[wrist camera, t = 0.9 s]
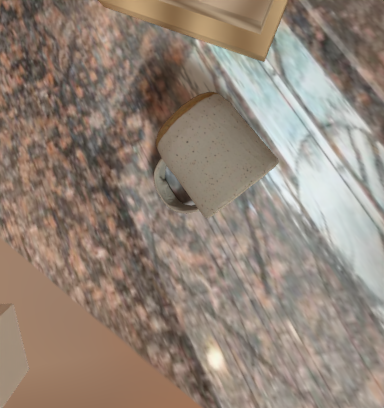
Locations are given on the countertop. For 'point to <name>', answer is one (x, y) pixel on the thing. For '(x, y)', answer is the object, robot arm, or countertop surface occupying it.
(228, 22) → the wooden block with ridges
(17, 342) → the robot arm
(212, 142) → the speckled stoneware cup
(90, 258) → the countertop surface
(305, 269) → the countertop surface
